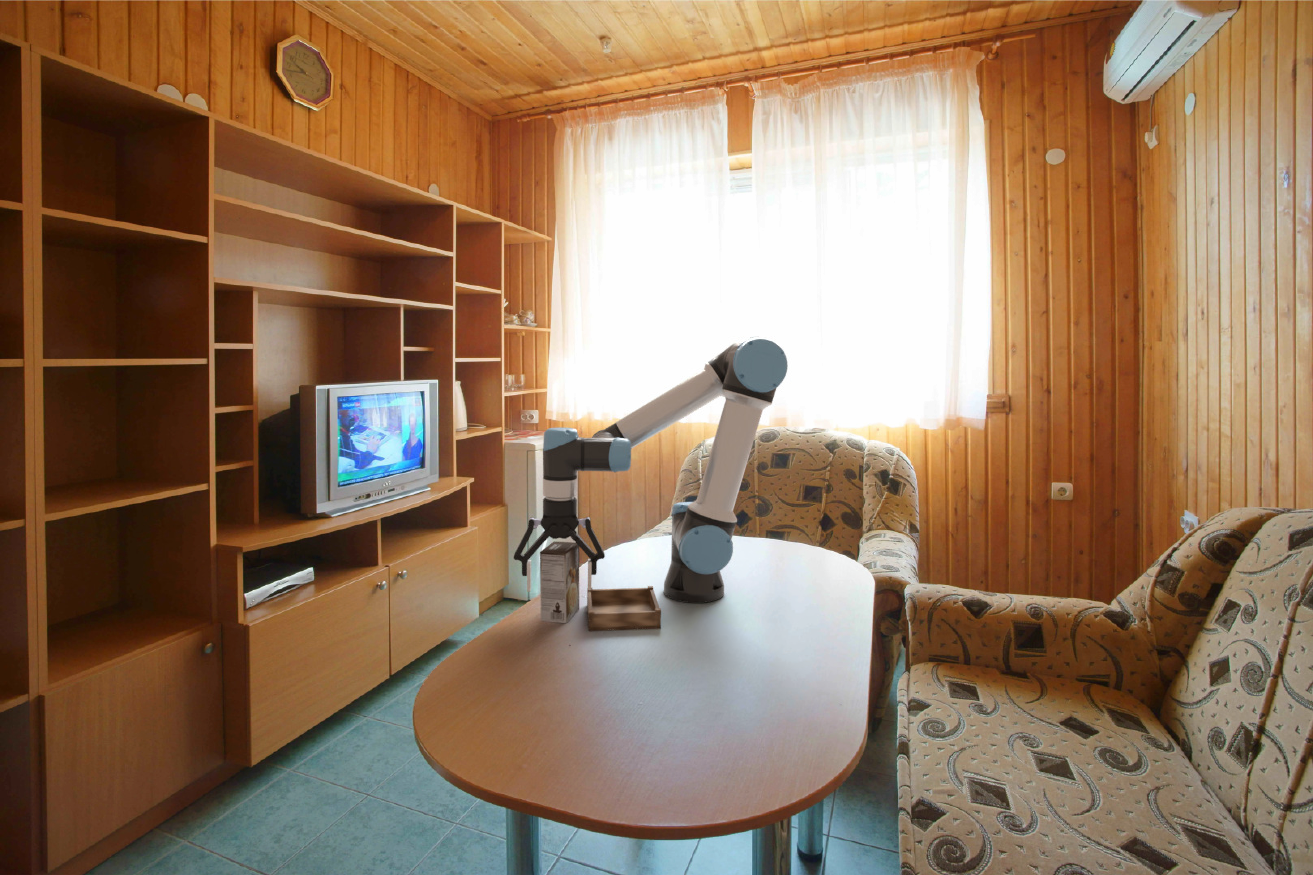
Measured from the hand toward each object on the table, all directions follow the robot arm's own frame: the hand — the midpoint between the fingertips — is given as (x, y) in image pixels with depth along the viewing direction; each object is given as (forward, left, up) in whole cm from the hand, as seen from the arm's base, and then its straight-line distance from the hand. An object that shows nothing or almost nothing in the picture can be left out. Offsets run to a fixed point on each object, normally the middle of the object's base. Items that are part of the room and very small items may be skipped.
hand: (559, 589), depth 154 cm
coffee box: (0, 0, -6) cm, 6 cm away
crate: (-14, +2, -6) cm, 16 cm away
